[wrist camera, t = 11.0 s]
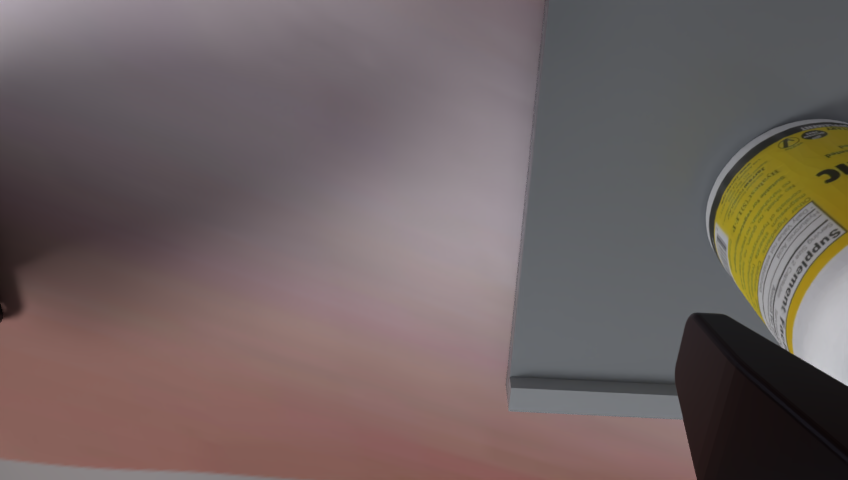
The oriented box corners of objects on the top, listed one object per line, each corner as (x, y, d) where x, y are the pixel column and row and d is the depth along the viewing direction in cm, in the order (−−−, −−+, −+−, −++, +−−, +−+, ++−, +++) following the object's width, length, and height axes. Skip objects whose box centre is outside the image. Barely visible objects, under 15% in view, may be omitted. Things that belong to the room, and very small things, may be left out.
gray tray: (505, 385, 25) (508, 411, 24) (556, -109, 18) (563, -109, 17) (955, 406, 25) (981, 433, 24) (1187, -89, 18) (1242, -86, 17)
